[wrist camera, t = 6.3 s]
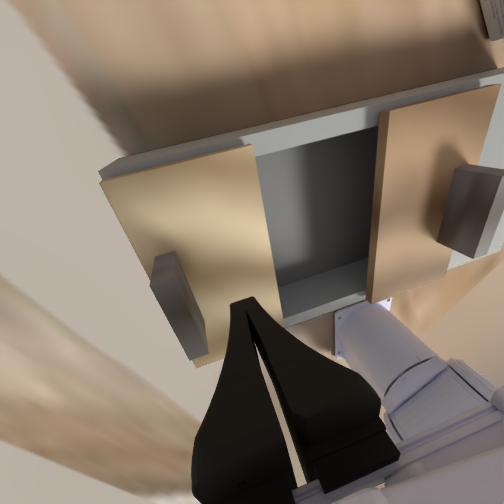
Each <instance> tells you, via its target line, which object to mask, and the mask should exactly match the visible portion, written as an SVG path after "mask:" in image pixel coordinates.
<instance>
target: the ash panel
mask: <svg viewBox="0 0 504 504" xmlns="http://www.w3.org/2000/svg"><path fill="white" fill-rule="evenodd" d="M100 186H101V187H102V189H103V191H104V193H105V195H106V197H107V199H108V201H109V203H110V205H111V207H112V208H113V210H114V212H115V214H116V216H117V218H118V220H119V222H120V224H121V226H122V227H123V229H124V231H125V233H126V235H127V237H128V239H129V241H130V243H131V245H132V246H133V248H134V250H135V252H136V254H137V256H138V258H139V260H140V262H141V264H142V266H143V267H144V269H145V271H146V273H147V275H148V277H149V279H150V287H151V289H152V291H153V293H154V295H155V297H156V299H157V300H158V302H159V304H160V306H161V308H162V310H163V312H164V313H165V315H166V317H167V319H168V321H169V323H170V325H171V327H172V328H173V330H174V332H175V334H176V336H177V338H178V339H179V341H180V343H181V345H182V347H183V349H184V351H185V353H186V355H187V356H188V358H189V360H192V361H193V363H194V365H195V367H196V368H198V367H201V366H204V365H207V364H209V363H212V362H215V361H218V360H220V359H223V358H225V354H226V349H227V343H228V337H229V328H230V306H229V305H230V304H231V303H233V302H236V301H239V300H242V299H245V298H248V297H251V296H254V297H255V298H256V300H257V301H258V302H259V304H260V305H261V306H262V307H263V308H264V309H265V311H266V312H267V313H268V314H269V315H270V316H271V317H272V318H273V319H274V320H275V321H276V322H277V323H279V324H280V325H281V326H282V327H283V328H284V329H285V327H284V321H283V315H282V309H281V304H280V298H279V292H278V286H277V281H276V275H275V269H274V263H273V258H272V252H271V246H270V240H269V235H268V229H267V223H266V218H265V212H264V206H263V200H262V195H261V189H260V183H259V177H258V172H257V166H256V160H255V154H254V149H253V145H252V144H246V145H242V146H237V147H233V148H229V149H225V150H221V151H217V152H213V153H209V154H205V155H201V156H197V157H193V158H189V159H185V160H181V161H177V162H173V163H168V164H164V165H160V166H156V167H152V168H148V169H144V170H140V171H136V172H132V173H128V174H124V175H120V176H116V177H112V178H108V179H104V180H102V181H101V182H100ZM255 346H256V344H255Z"/></svg>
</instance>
